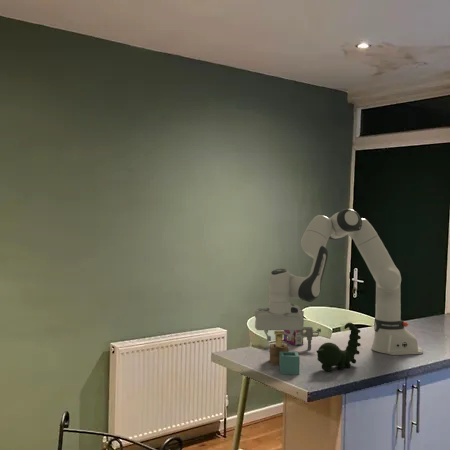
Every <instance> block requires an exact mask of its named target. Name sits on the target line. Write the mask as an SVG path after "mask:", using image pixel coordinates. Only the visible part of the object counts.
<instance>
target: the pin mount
mask: <svg viewBox="0 0 450 450" xmlns="http://www.w3.org/2000/svg"><path fill="white" fill-rule="evenodd" d="M279 352H289V347H288V344H287V343H283V347H275V343H269V362H270V365H272V366H273V365H275V366H276V365H278V366H279Z"/></svg>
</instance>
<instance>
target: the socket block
mask: <svg viewBox="0 0 450 450" xmlns="http://www.w3.org/2000/svg"><path fill="white" fill-rule="evenodd" d="M300 357H301V356H300V354H299V353H298V351H288V352H279V365H278V366H279V368H278V369H279V372H280V374H281V375H300V362H301V361H300Z"/></svg>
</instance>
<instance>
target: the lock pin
mask: <svg viewBox="0 0 450 450" xmlns="http://www.w3.org/2000/svg"><path fill="white" fill-rule="evenodd" d="M273 331H274V335H275V336H274V337H275V339H274V340H275V342H274V344H275V347H283V344H284V343H283V341H284V330H273Z"/></svg>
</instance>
